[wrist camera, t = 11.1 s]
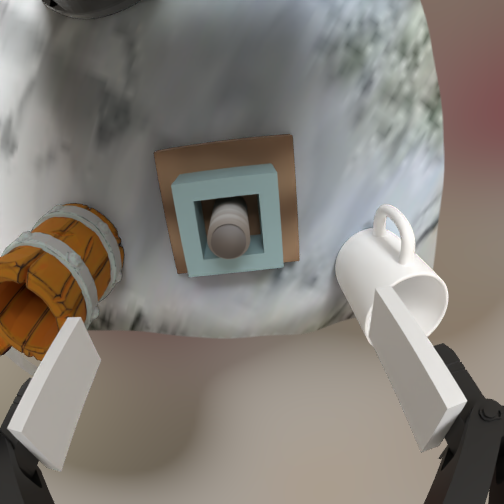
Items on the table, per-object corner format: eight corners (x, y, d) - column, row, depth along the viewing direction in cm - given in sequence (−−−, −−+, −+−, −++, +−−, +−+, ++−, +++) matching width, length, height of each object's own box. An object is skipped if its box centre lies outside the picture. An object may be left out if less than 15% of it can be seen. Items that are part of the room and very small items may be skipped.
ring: (179, 174, 27) (171, 185, 23) (271, 163, 27) (277, 172, 23) (194, 256, 30) (189, 277, 27) (278, 247, 30) (283, 267, 27)
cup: (332, 298, 35) (360, 360, 26) (331, 194, 30) (371, 235, 21) (398, 286, 35) (438, 341, 26) (406, 188, 30) (463, 223, 21)
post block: (157, 150, 27) (126, 169, 19) (289, 134, 27) (312, 146, 19) (180, 266, 33) (163, 320, 24) (296, 253, 33) (316, 304, 24)
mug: (148, 257, 32) (100, 359, 18) (64, 323, 35) (15, 410, 22) (82, 177, 28) (-12, 237, 14) (9, 262, 31) (-60, 334, 18)
